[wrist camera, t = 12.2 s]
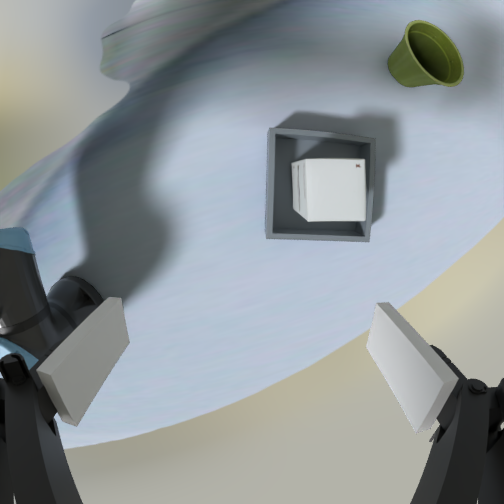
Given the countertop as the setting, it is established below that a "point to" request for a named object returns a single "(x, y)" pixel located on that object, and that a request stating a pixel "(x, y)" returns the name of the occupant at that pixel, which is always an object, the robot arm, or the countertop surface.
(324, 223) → the grey bin
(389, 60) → the plant pot
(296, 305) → the countertop surface
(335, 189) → the supplement box
